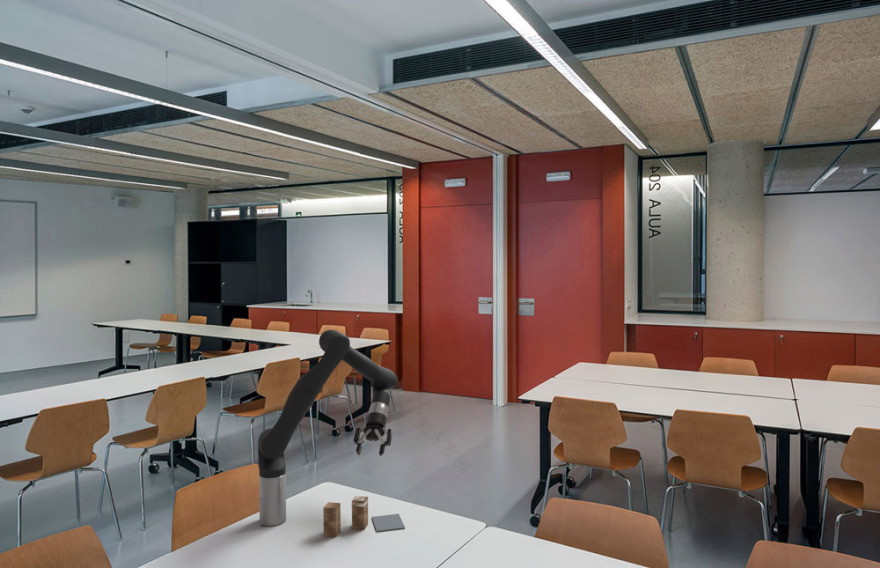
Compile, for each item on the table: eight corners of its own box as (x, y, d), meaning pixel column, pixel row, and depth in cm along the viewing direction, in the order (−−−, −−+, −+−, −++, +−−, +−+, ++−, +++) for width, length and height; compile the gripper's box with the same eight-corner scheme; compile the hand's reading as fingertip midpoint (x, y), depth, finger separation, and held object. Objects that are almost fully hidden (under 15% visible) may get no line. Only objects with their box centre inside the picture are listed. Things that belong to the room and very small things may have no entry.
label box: (351, 529, 203) (351, 500, 203) (356, 523, 208) (355, 495, 208) (364, 530, 202) (364, 501, 202) (368, 524, 207) (368, 496, 207)
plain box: (323, 536, 198) (323, 507, 198) (328, 530, 202) (328, 502, 202) (336, 537, 197) (335, 508, 197) (340, 531, 201) (340, 503, 201)
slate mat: (376, 532, 201) (376, 530, 200) (371, 518, 212) (371, 516, 212) (405, 528, 203) (405, 527, 203) (398, 515, 215) (398, 513, 215)
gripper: (357, 410, 226) (348, 448, 215) (393, 411, 223) (385, 450, 212) (362, 420, 231) (353, 458, 220) (396, 421, 229) (389, 460, 217)
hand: (369, 454), depth 216 cm, fingers open, 8 cm apart
